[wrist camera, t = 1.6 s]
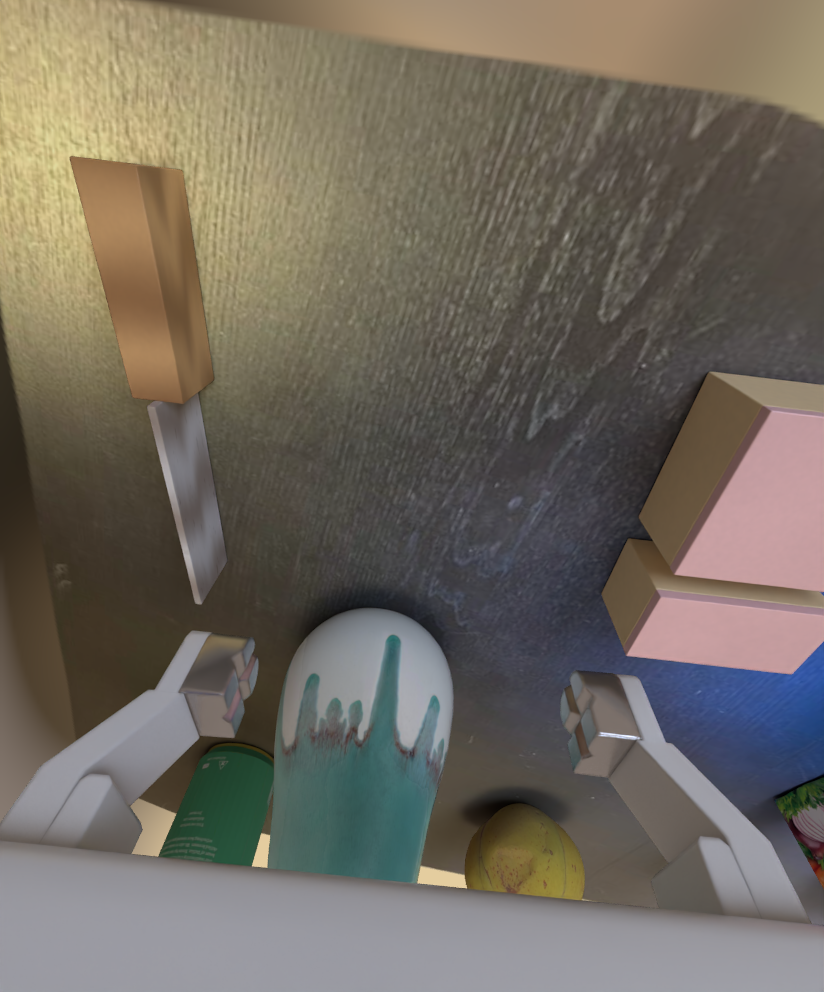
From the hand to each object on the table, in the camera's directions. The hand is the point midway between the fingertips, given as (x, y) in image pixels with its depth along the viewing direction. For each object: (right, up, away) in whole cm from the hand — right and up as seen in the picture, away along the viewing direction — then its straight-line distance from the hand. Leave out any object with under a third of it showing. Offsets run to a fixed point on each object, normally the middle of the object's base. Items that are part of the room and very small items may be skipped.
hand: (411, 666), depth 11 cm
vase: (-3, -7, +23) cm, 24 cm away
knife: (-12, +9, +13) cm, 20 cm away
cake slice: (+18, -1, +18) cm, 25 cm away
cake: (+19, +6, +13) cm, 24 cm away
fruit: (+12, -30, +38) cm, 50 cm away
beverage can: (-18, -23, +35) cm, 46 cm away
